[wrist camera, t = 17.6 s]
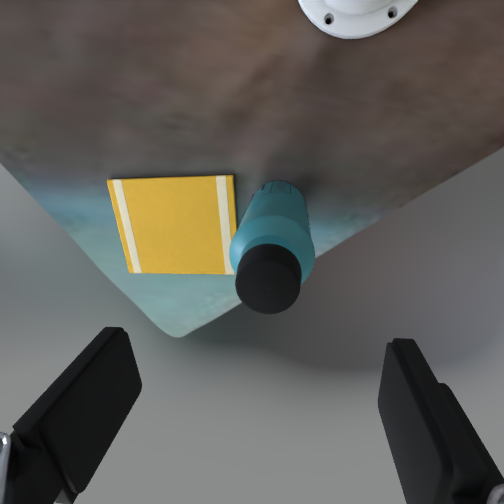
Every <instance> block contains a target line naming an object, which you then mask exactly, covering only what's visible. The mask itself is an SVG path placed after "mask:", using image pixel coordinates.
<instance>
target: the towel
mask: <svg viewBox="0 0 504 504" xmlns="http://www.w3.org/2000/svg"><path fill="white" fill-rule="evenodd" d="M107 184H108V188H109V192H110V196H111V200H112V204H113V208H114V212H115V217H116V221H117V225H118V229H119V233H120V237H121V241H122V245H123V249H124V253H125V257H126V261H127V266H128V270H129V273H177V274H235V273H234V271H233V269H232V266H231V263H230V257H229V249H230V244H231V241H232V238H233V236H234V234H235V233H236V231H237V217H236V204H235V191H234V178H233V175H215V176H187V177H159V178H132V179H109V180H107Z"/></svg>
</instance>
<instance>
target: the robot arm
mask: <svg viewBox="0 0 504 504" xmlns="http://www.w3.org/2000/svg"><path fill="white" fill-rule="evenodd" d="M417 1H418V0H298V2H299V4H300V6H301V8H302V10H303V11H304V13H305V14H306V15H307V17H308V18H309V19H310V21H311V22H312V23H313V24H315V25H316V26H317V27H318V28H319V29H320V30H322V31H324V32H326V33H328V34H330V35H332V36H335V37H339V38H343V39H359V38H364V37H369V36H372V35H374V34H377V33H379V32H382V31H384V30H385V29H387V28H388V27H390V26H391V25H393V24H394V23H396V22H397V21H398V20H399V19H401V18H402V17H403V16H404V15H405V14H406V13H407V12H408V11H409V10H410V9H411V8H412V7H413V6H414V5H415V3H416V2H417ZM388 13H392V15H393V16H392V18H389V16H388ZM327 19H330V20H331V23H330V24H329V25H328V24H326V20H327ZM141 389H142V383H141V378H140V375H139V371H138V368H137V364H136V361H135V357H134V354H133V350H132V347H131V343H130V340H129V336H128V334H127V332H125V331H124V329H123V328H121V327H105V328H104V329H103V330H102V331H101V332H100V333H99V334H98V335H97V336H96V337H95V338H94V339H93V340H92V342H90V344H89V345H88V346H87V347H86V348H85V349H84V350H83V351H82V352H81V353H80V355H78V356H77V358H76V359H75V360H74V361H73V362H72V363H71V364H70V365H69V366H68V367H67V369H65V370H64V372H63V373H62V374H61V375H60V376H59V377H58V378H57V379H56V380H55V381H54V382H53V383H52V384H51V385H50V387H49V388H48V389H47V390H46V391H45V392H44V393H43V394H42V395H41V396H40V397H39V398H38V399H37V401H36V402H35V403H34V404H33V405H32V406H31V407H30V408H29V409H28V411H26V412H25V413H24V415H23V416H22V417H21V418H20V419H19V420H18V421H17V422H16V423H15V424H14V425H13V428H14V431H13V432H12V433H11V434H10V436H9V435H8V434H7V433H3V432H0V504H53V503H54V502H55V501H56V503H62V504H73V503H74V501H75V499H76V497H77V496H78V494H79V493H81V492H83V491H84V490H85V488H86V487H87V485H88V484H89V482H90V480H91V478H92V477H93V475H94V473H95V471H96V470H97V468H98V466H99V464H100V463H101V461H102V459H103V457H104V455H105V454H106V452H107V450H108V449H109V447H110V445H111V443H112V441H113V440H114V438H115V436H116V435H117V433H118V431H119V429H120V428H121V426H122V424H123V422H124V420H125V419H126V417H127V415H128V414H129V412H130V410H131V408H132V406H133V405H134V403H135V401H136V399H137V398H138V396H139V394H140V392H141ZM378 408H379V413H380V416H381V419H382V423H383V426H384V429H385V432H386V436H387V439H388V443H389V446H390V449H391V453H392V456H393V459H394V463H395V466H396V469H397V473H398V476H399V479H400V483H401V486H402V489H403V493H404V496H405V500H406V503H407V504H504V478H503V476H502V475H501V473H500V471H499V470H498V468H497V466H496V465H495V463H494V461H493V460H492V458H491V456H490V455H489V453H488V451H487V449H486V448H485V446H484V444H483V443H482V441H481V439H480V438H479V436H478V435H477V433H476V431H475V429H474V428H473V426H472V424H471V423H470V421H469V419H468V417H467V416H466V414H465V412H464V411H463V409H462V407H461V406H460V404H459V402H458V401H457V399H456V397H455V396H454V394H453V392H452V391H451V389H450V388H449V387H448V386H447V385H446V384H444V383H438V381H437V379H436V378H435V376H434V374H433V373H432V371H431V369H430V367H429V365H428V363H427V362H426V360H425V358H424V357H423V354H422V353H421V351H420V349H419V347H418V346H417V344H416V342H415V341H414V340H413V339H400V338H395V339H393V341H392V343H387V346H386V353H385V359H384V365H383V371H382V377H381V383H380V389H379V396H378Z"/></svg>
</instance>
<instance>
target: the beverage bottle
mask: <svg viewBox="0 0 504 504" xmlns="http://www.w3.org/2000/svg"><path fill="white" fill-rule="evenodd" d="M274 181H275V180H274ZM274 181H273V182H270V181H269V182H270V183H267V184H265V185H263V186H260V187H261V188H260V189H259V190H258V191H257V192H256V193H255V195H254V194H253V195H254V197H253V196H252V198H253V199H252V198H251V203H250V202H249V203H250V205H249V207H248V208H247V211H246V213H245V215H244V214H243V215H244V217H243V216H242V218H243V219H242V221H241V224H240V226H238V230H237V231H236V233H235V234H234V236H233V238H232V241H231V244H230V249H229V257H230V263H231V266H232V269H233V271H234V273H235V274H236V281H235V286H236V291H237V294H238V296H239V298H240V300H241V301H242V302H243V303H244V304H245V305H246V306H247V307H249V308H250V309H252V310H253V311H256V312H259V313H263V314H276V313H280V312H282V311H284V310H286V309H288V308H289V307H290V306H291V305H292V304H293V303H294V302H295V301H296V299H297V297H298V295H299V292H300V285H301V284H302V283H303V282H304V281H305V280H306V279H307V277H308V276H309V274H310V273H311V271H312V268H313V265H314V260H315V251H314V245H313V242H312V239H311V234H310V230H311V229H309V225H311V224H309V220H308V215H309V214H308V215H307V211H306V205H305V202H304V201H305V199H304V198H303V196H302V194H301V193H300V191H299V190H298V189H297V188H296V187H294V186H293V185H291V183H290V184H289V183H286V182H287V181H286V182H285V181H283V182H282V180H281V181H275V182H274ZM245 210H246V209H245ZM307 210H308V209H307ZM244 212H245V211H244ZM239 222H240V221H239Z"/></svg>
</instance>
